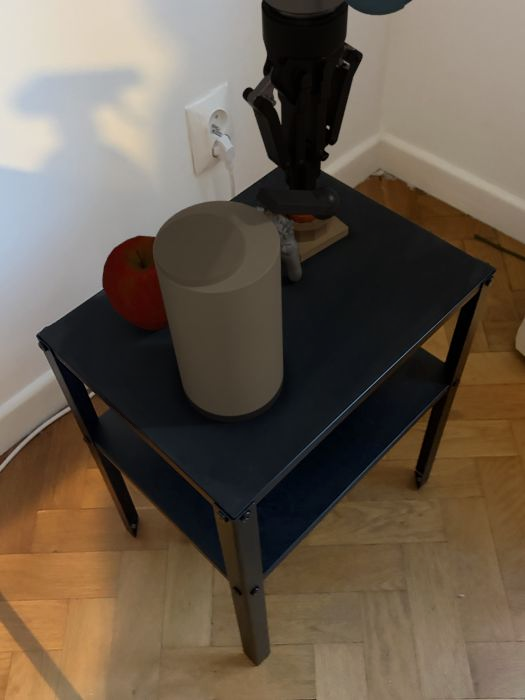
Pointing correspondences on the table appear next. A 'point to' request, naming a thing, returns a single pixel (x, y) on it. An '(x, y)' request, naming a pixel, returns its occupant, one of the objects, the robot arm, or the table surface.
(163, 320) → the apple
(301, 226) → the button base
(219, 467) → the table surface
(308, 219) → the button
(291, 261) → the grey toy figure
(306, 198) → the switch
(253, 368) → the beige cylinder
